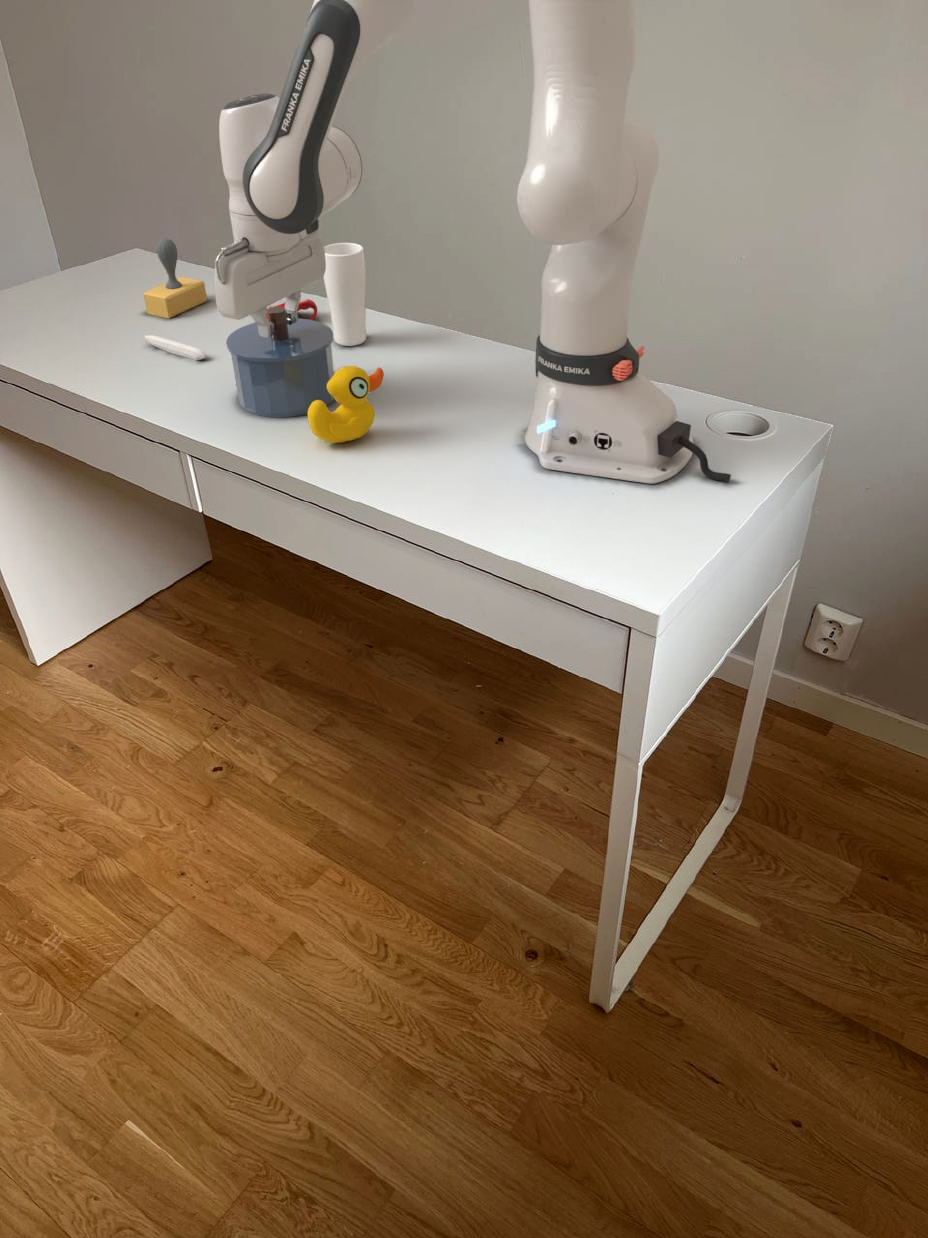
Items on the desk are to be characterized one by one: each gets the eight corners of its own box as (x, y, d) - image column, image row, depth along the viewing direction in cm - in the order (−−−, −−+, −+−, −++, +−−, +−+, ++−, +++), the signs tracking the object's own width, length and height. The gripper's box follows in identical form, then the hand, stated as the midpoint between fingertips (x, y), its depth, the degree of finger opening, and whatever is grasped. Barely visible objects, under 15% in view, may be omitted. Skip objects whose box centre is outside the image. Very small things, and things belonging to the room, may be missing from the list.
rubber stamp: (185, 296, 186) (172, 228, 179) (208, 301, 184) (197, 233, 177) (146, 313, 180) (131, 244, 172) (170, 318, 177) (156, 248, 170)
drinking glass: (321, 344, 166) (311, 252, 157) (344, 330, 171) (336, 240, 162) (356, 351, 164) (348, 257, 155) (378, 337, 169) (372, 245, 160)
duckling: (377, 420, 144) (372, 352, 138) (395, 434, 140) (391, 365, 134) (304, 440, 139) (295, 371, 133) (321, 456, 135) (313, 385, 129)
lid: (354, 336, 148) (351, 301, 145) (290, 374, 138) (285, 337, 134) (272, 319, 154) (267, 285, 151) (205, 354, 144) (198, 318, 141)
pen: (149, 341, 169) (147, 332, 168) (209, 359, 162) (207, 349, 161) (142, 344, 168) (140, 335, 167) (201, 362, 161) (200, 352, 160)
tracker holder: (258, 306, 178) (312, 289, 178) (267, 331, 180) (320, 314, 179) (251, 315, 167) (309, 296, 166) (261, 341, 169) (318, 323, 168)
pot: (354, 387, 153) (349, 332, 148) (296, 425, 143) (289, 368, 138) (279, 370, 159) (272, 316, 153) (219, 405, 149) (209, 349, 144)
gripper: (233, 253, 128) (249, 358, 136) (328, 212, 142) (338, 310, 150) (195, 247, 130) (213, 350, 139) (292, 207, 144) (303, 303, 153)
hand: (279, 329), depth 144 cm, fingers open, 4 cm apart
